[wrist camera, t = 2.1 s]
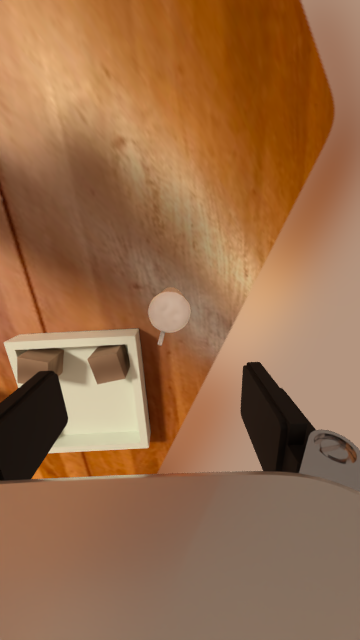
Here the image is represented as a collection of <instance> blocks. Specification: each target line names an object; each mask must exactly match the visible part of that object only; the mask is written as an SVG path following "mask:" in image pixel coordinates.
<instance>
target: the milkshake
mask: <svg viewBox="0 0 360 640" xmlns="http://www.w3.org/2000/svg"><path fill="white" fill-rule="evenodd" d="M190 315H191V309H190V305H189V303H188V302H187V300H186V299H185V298H184V296H183V295H182V293H181V292H180V291H179V290H178V289H176V288H175V287H167V288H166V289H165V290H163V291H162V292H161V293H160V294H158V295H156V296H155V297H154V298H153V299H152V301H151V303H150V305H149V308H148V316H149V319H150V321H151V323H152V325H153V326H154V327H155V328H157V329H158V330H160V331H161V333H160V336H159V340H158V345H160V346H162V343H163V339H164V335H165V332H167V333H173V332H177V331H179V330H181V329H182V328H184V327H185V326H186V324H187V323H188V321H189V319H190Z"/></svg>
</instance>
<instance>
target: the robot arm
mask: <svg viewBox="0 0 360 640" xmlns="http://www.w3.org/2000/svg"><path fill="white" fill-rule="evenodd" d="M241 416H242V419H243V422H244V424H245V427H246V429H247V432H248V434H249V436H250V439H251V442H252V444H253V447H254V449H255V452H256V454H257V456H258V459H259V461H260V464H261V466H262V469H263V471H242V472H202V473H201V472H200V473H172V474H144V475H119V476H95V477H72V478H51V479H31V478H32V477H33V475H34V474H35V472H36V471H37V469H38V468H39V466H40V465H41V463H42V461H43V460H44V458H45V457H46V455H47V454H48V452H49V451H50V449H51V448H52V446H53V445H54V443H55V442H56V440H57V439H58V437H59V436H60V434H61V433H62V431H63V430H64V428H65V427H66V425H67V423H68V414H67V410H66V406H65V402H64V398H63V394H62V390H61V386H60V382H59V377H58V375H57V374H56V373H55V372H54V371H39V372H38V373H36V374H35V375H34V376H33V377H31V378H30V379H29V380H28V381H27V382H25V383H24V384H23V385H22V386H21V387H19V388H18V389H17V390H16V391H15V392H13V393H12V394H11V395H10V396H9V397H7V398H6V399H5V400H4V401H2V402H1V403H0V640H360V450H359V449H358V447H356V446H355V445H354V444H353V443H352V442H351V441H350V440H348V439H347V438H345V437H343V436H342V435H339V434H337V433H335V432H332V431H329V430H315V428H314V427H313V426H312V425H311V423H310V422H309V421H308V420H307V418H306V417H305V416H304V415H303V413H302V412H301V411H300V410H299V408H298V407H297V406H296V405H295V403H294V402H293V401H292V400H291V398H290V397H289V396H288V395H287V393H286V392H285V391H284V390H283V389H282V388H279V386H278V385H277V384H276V382H275V381H274V380H273V379H272V378H271V376H270V375H269V374H268V372H267V371H266V370H265V368H264V367H263V366H262V364H261V363H260V362H248V363H247V365H246V366H243V378H242V397H241Z"/></svg>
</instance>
